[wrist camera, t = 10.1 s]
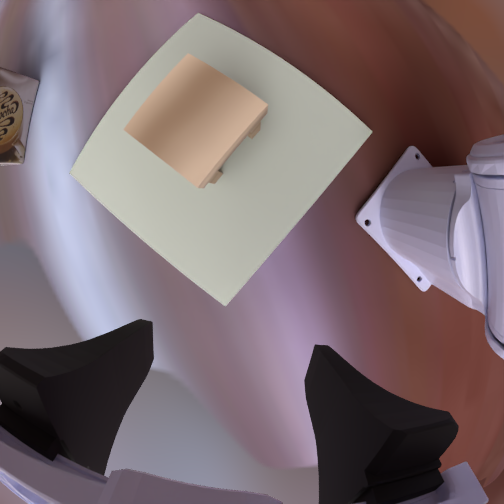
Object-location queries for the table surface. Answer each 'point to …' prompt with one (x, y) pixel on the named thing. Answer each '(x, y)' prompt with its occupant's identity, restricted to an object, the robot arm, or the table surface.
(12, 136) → the coffee box
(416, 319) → the table surface
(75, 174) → the mat
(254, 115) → the stool
